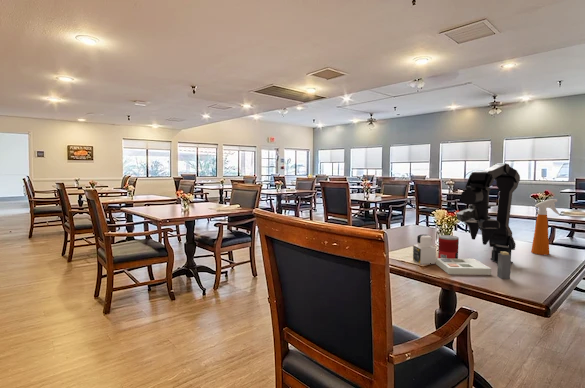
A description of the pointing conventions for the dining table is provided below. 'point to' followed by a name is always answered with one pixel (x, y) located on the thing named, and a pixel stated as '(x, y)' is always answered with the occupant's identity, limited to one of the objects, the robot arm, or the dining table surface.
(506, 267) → the plug
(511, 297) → the dining table surface
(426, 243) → the medicine bottle
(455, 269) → the socket board
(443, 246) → the canned food
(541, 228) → the spray bottle
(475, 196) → the robot arm
